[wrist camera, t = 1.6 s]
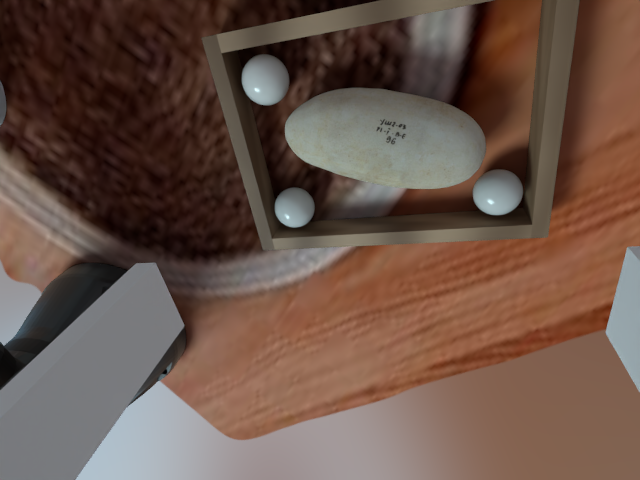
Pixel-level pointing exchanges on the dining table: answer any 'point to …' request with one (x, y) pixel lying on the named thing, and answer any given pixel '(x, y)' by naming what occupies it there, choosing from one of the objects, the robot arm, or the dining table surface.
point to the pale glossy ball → (294, 207)
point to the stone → (387, 138)
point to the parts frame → (402, 229)
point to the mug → (2, 104)
